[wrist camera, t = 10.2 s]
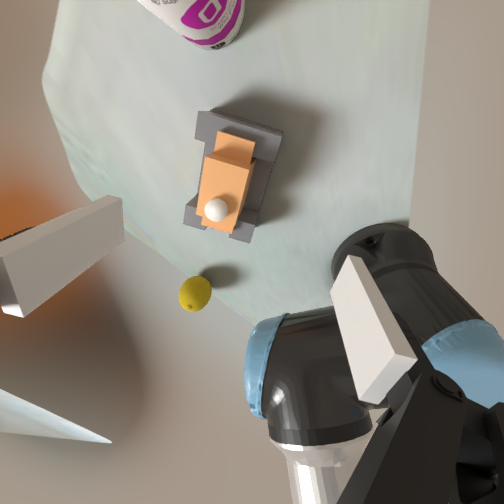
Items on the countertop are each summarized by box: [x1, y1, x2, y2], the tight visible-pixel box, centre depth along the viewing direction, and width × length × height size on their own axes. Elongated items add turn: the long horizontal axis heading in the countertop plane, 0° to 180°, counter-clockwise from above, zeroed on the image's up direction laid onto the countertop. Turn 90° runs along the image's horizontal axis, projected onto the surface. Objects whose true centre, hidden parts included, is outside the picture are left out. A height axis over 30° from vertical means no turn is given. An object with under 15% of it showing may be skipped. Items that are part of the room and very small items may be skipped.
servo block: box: [196, 130, 256, 234], centre depth 31 cm, size 5×12×10 cm, turn 165°
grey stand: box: [183, 109, 283, 243], centre depth 34 cm, size 10×15×6 cm, turn 165°
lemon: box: [179, 276, 212, 312], centre depth 44 cm, size 6×6×8 cm
